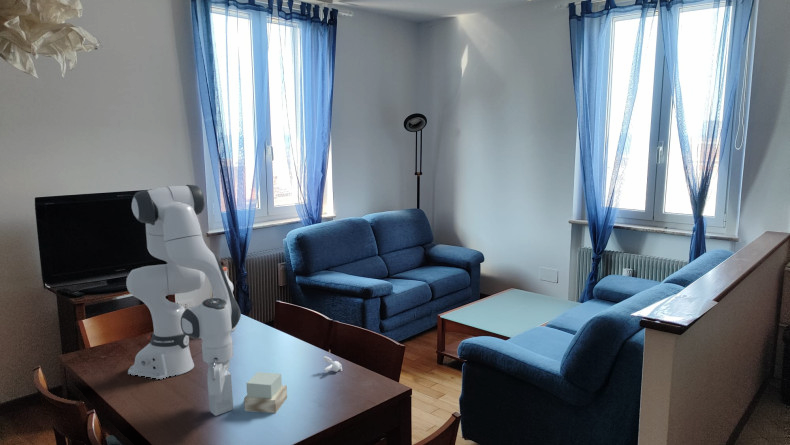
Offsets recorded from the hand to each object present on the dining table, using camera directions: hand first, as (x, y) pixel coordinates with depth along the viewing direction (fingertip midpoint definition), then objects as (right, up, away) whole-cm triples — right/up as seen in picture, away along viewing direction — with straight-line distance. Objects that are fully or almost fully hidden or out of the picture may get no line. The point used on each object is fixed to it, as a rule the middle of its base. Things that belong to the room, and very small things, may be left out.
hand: (220, 395), depth 165 cm
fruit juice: (-21, +5, +72) cm, 75 cm away
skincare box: (0, -5, +1) cm, 5 cm away
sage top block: (+13, 0, +4) cm, 13 cm away
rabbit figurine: (+31, -1, +28) cm, 42 cm away
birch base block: (+13, -5, +5) cm, 15 cm away
